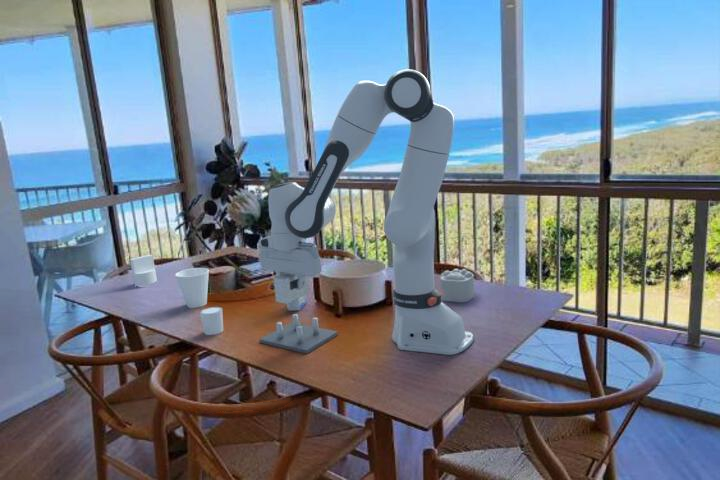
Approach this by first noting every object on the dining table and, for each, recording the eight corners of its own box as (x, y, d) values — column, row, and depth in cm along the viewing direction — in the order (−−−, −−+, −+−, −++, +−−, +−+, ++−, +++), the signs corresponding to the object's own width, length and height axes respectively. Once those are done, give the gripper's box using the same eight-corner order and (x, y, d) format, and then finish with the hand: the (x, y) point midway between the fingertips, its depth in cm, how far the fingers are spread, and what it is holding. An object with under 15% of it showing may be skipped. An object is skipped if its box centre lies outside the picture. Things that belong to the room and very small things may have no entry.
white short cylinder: (206, 327, 166) (203, 307, 165) (227, 326, 166) (224, 305, 165) (199, 336, 160) (196, 315, 158) (221, 335, 159) (218, 313, 158)
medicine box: (299, 310, 175) (297, 286, 173) (287, 310, 176) (284, 286, 174) (306, 302, 183) (304, 279, 181) (294, 302, 184) (292, 279, 182)
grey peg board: (337, 334, 153) (336, 317, 151) (307, 353, 141) (305, 334, 140) (291, 325, 163) (289, 308, 162) (259, 342, 152) (257, 324, 150)
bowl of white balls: (438, 300, 175) (437, 275, 173) (448, 288, 186) (447, 265, 184) (469, 302, 170) (468, 277, 168) (477, 290, 182) (477, 266, 180)
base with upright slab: (152, 279, 229) (147, 253, 226) (160, 283, 222) (156, 256, 220) (131, 285, 223) (126, 258, 220) (139, 288, 216) (134, 261, 214)
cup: (208, 297, 198) (203, 265, 195) (218, 304, 188) (213, 271, 186) (176, 304, 192) (171, 272, 189) (185, 313, 182) (179, 279, 179)
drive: (309, 293, 152) (307, 270, 151) (286, 303, 144) (284, 279, 143) (299, 291, 155) (297, 268, 153) (275, 301, 147) (273, 277, 145)
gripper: (324, 240, 142) (327, 289, 145) (269, 235, 154) (274, 280, 157) (309, 246, 137) (313, 295, 140) (254, 240, 149) (259, 286, 152)
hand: (292, 287), depth 149 cm, fingers closed on drive, 4 cm apart
